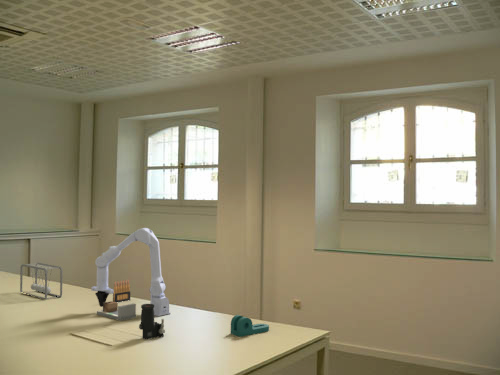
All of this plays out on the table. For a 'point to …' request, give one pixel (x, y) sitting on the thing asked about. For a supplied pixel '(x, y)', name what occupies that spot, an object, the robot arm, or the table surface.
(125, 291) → the ammunition clip
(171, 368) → the table surface
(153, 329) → the scope
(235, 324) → the bracket
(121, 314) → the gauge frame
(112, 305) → the block
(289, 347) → the table surface
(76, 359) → the table surface
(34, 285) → the newton's cradle
